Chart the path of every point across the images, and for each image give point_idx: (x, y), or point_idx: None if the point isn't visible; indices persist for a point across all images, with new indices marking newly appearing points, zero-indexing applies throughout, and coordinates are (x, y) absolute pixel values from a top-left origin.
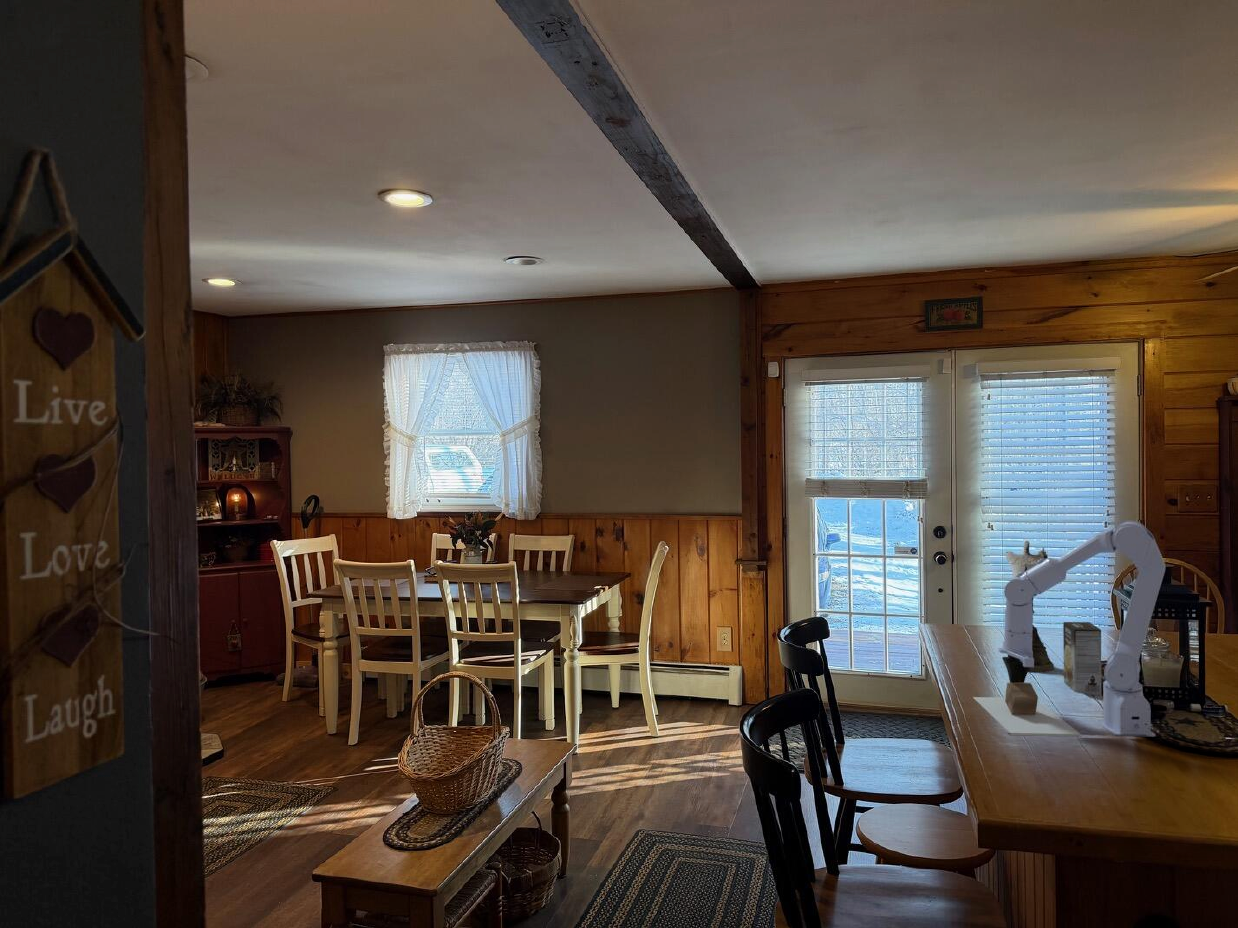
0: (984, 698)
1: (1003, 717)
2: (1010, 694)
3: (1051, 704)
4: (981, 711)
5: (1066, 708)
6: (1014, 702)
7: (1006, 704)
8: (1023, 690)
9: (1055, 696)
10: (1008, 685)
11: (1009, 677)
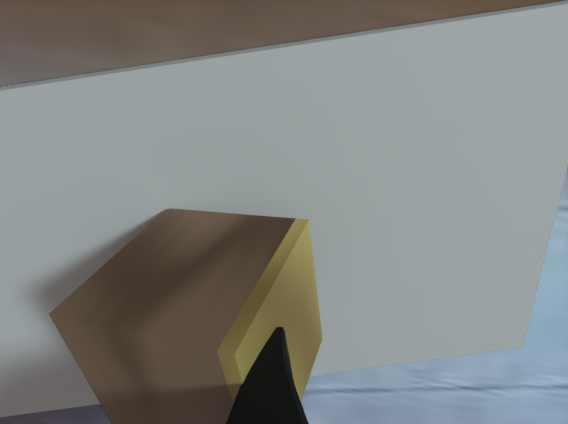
0: (551, 90)
1: (75, 149)
2: (155, 294)
3: (445, 383)
4: (262, 15)
5: (385, 417)
6: (94, 278)
7: (396, 211)
8: (158, 403)
9: (565, 407)
10: (190, 342)
11: (276, 418)
